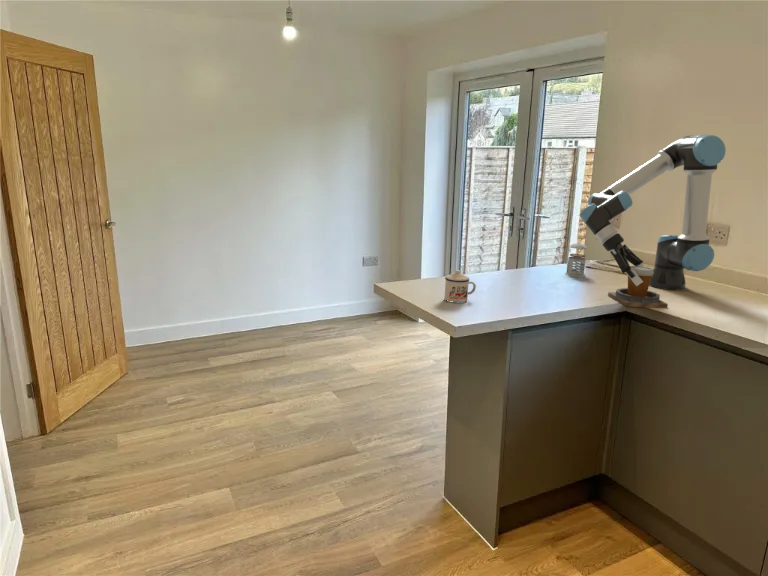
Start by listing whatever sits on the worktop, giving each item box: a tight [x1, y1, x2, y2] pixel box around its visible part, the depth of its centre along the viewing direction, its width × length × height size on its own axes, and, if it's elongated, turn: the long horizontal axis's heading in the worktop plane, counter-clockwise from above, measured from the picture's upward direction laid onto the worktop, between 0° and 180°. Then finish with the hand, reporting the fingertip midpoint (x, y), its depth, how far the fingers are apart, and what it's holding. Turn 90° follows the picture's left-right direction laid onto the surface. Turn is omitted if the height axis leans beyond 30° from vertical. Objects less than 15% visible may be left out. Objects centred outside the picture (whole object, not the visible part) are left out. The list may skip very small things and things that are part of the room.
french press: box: [562, 222, 588, 278], centre depth 255 cm, size 10×12×25 cm
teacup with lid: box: [444, 269, 477, 303], centre depth 203 cm, size 12×9×12 cm
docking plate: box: [607, 287, 669, 309], centre depth 211 cm, size 16×16×4 cm
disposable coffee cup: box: [627, 265, 654, 297], centre depth 209 cm, size 10×10×12 cm
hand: (644, 281), depth 208 cm, fingers open, 13 cm apart
